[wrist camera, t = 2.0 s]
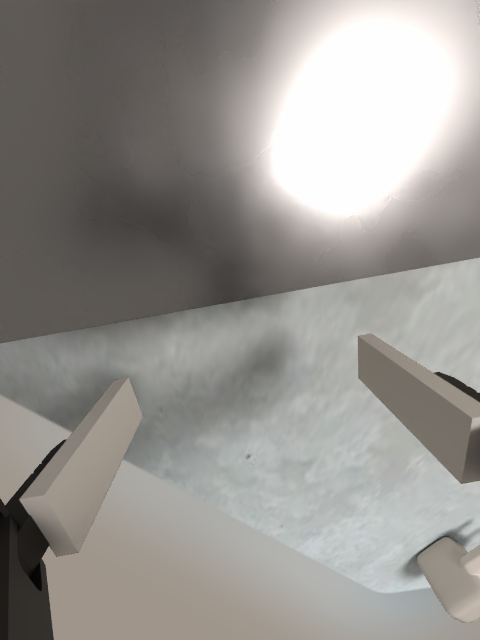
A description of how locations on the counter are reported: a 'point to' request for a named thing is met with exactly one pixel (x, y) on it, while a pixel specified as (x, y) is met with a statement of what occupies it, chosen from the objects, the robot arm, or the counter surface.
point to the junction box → (228, 151)
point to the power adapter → (453, 577)
